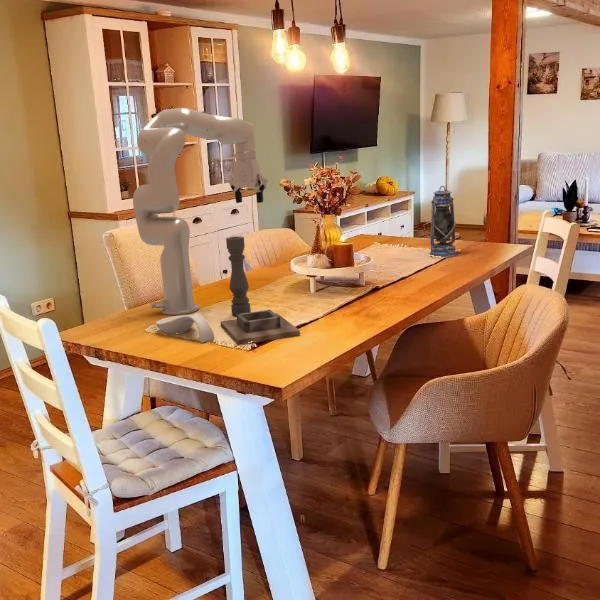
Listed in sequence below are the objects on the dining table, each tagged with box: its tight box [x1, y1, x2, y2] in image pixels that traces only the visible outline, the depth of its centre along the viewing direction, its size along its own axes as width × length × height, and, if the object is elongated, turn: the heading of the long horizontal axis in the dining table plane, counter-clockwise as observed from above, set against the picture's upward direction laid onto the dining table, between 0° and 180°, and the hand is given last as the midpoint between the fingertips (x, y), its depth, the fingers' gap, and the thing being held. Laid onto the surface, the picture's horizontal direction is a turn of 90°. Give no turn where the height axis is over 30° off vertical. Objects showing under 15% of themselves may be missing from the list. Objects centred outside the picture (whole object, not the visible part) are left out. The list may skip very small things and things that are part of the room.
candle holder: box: [225, 235, 252, 318], centre depth 219 cm, size 6×6×25 cm
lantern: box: [429, 185, 458, 259], centre depth 298 cm, size 15×12×30 cm
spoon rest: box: [155, 312, 215, 344], centre depth 203 cm, size 24×12×7 cm, turn 41°
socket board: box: [220, 309, 301, 346], centre depth 202 cm, size 18×22×4 cm
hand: (249, 202), depth 262 cm, fingers open, 9 cm apart
